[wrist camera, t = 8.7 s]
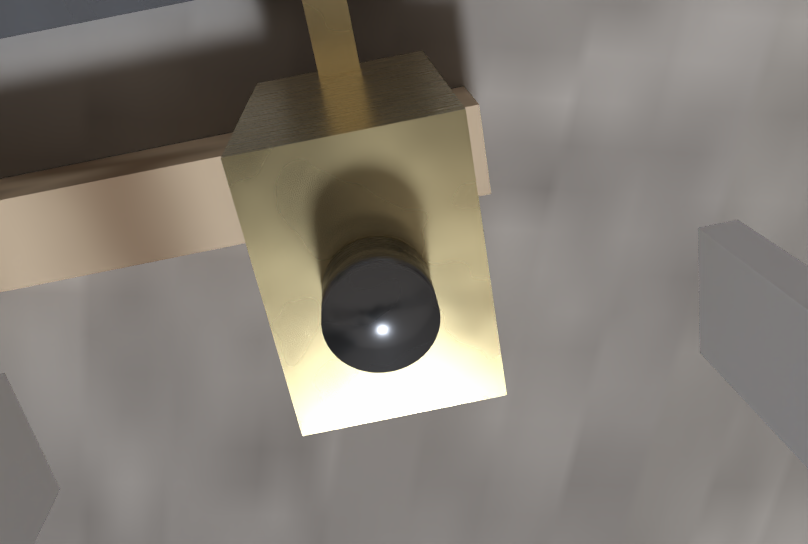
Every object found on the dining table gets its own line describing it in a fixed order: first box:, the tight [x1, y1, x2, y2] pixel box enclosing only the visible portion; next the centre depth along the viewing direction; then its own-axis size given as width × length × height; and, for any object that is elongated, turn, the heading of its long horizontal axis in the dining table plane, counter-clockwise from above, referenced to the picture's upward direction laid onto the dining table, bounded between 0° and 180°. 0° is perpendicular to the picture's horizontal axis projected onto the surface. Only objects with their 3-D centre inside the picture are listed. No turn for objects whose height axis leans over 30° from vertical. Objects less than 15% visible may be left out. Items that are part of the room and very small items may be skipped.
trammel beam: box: [0, 86, 491, 292], centre depth 23 cm, size 24×14×4 cm, turn 100°
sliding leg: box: [221, 0, 507, 436], centre depth 18 cm, size 5×15×11 cm, turn 10°
